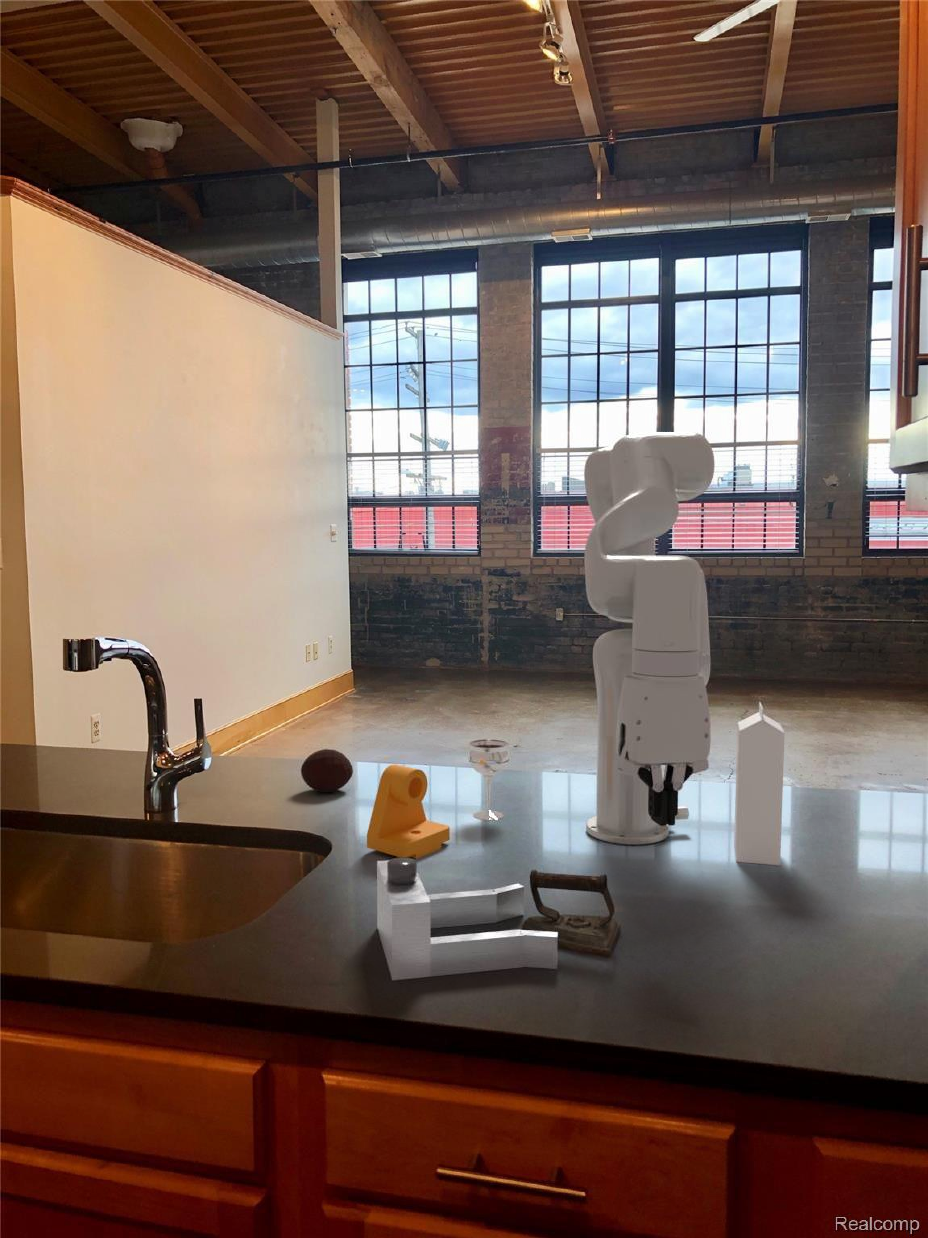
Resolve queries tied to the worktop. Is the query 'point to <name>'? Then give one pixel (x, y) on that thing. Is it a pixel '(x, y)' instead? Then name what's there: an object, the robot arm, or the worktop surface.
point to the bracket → (403, 816)
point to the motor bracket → (415, 913)
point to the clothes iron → (575, 929)
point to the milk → (759, 790)
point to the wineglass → (488, 767)
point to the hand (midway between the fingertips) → (662, 822)
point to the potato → (326, 770)
